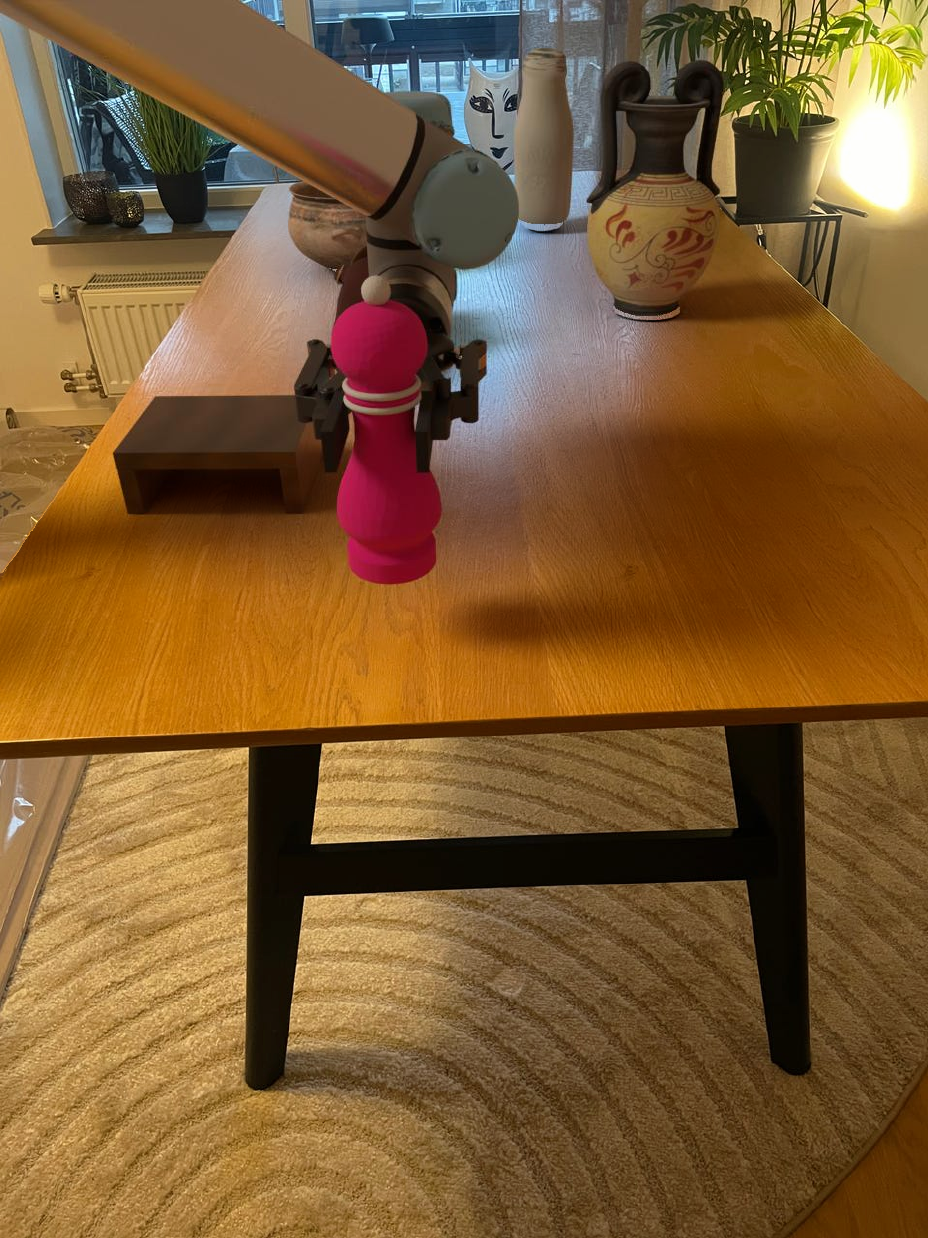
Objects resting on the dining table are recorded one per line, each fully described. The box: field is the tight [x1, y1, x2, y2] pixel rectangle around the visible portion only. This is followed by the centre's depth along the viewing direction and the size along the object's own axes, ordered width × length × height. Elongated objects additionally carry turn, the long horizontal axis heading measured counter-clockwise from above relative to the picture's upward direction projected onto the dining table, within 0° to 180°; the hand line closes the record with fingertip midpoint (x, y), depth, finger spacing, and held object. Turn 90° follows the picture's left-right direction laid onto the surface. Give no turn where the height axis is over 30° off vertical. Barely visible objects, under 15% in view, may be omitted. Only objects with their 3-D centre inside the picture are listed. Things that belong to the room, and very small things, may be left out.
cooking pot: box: [287, 180, 367, 269], centre depth 150 cm, size 25×19×12 cm
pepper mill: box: [330, 276, 443, 586], centre depth 64 cm, size 7×7×20 cm
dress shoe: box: [331, 246, 369, 373], centre depth 117 cm, size 9×28×12 cm, turn 5°
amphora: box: [586, 59, 725, 316], centre depth 125 cm, size 18×17×30 cm
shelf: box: [112, 394, 323, 515], centre depth 91 cm, size 16×13×6 cm
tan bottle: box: [513, 47, 575, 225], centre depth 164 cm, size 10×10×28 cm
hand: (375, 452), depth 59 cm, fingers closed on pepper mill, 5 cm apart
